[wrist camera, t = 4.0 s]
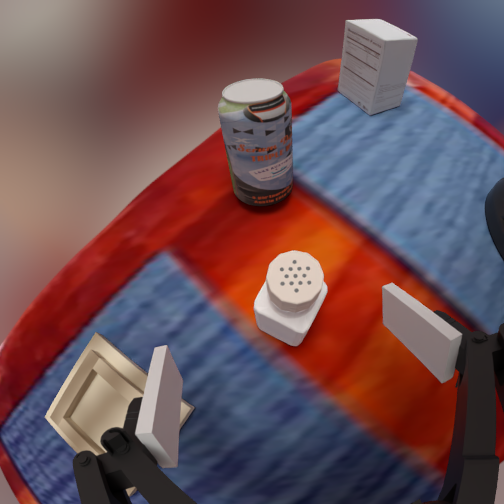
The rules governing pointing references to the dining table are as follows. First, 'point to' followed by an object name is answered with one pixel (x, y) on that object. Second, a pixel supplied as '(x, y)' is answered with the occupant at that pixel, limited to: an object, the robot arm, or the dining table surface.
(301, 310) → the pepper shaker
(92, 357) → the tray
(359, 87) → the supplement box
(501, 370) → the robot arm
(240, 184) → the beverage can
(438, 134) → the dining table surface
